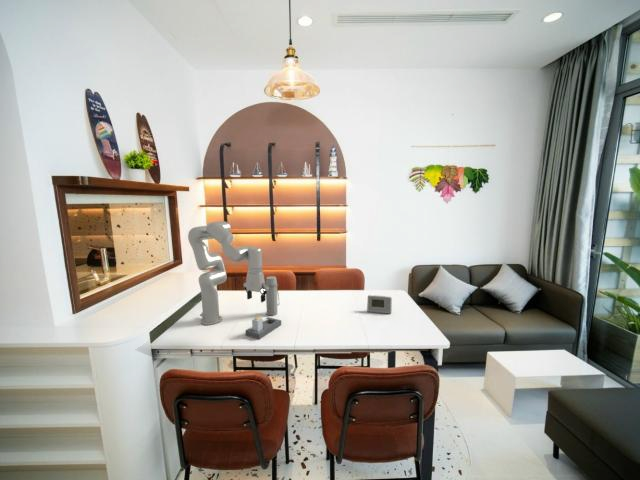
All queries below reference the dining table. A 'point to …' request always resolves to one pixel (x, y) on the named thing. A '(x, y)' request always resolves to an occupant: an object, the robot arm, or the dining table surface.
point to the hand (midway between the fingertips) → (256, 300)
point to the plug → (257, 324)
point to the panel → (264, 328)
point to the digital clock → (379, 304)
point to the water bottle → (271, 295)
